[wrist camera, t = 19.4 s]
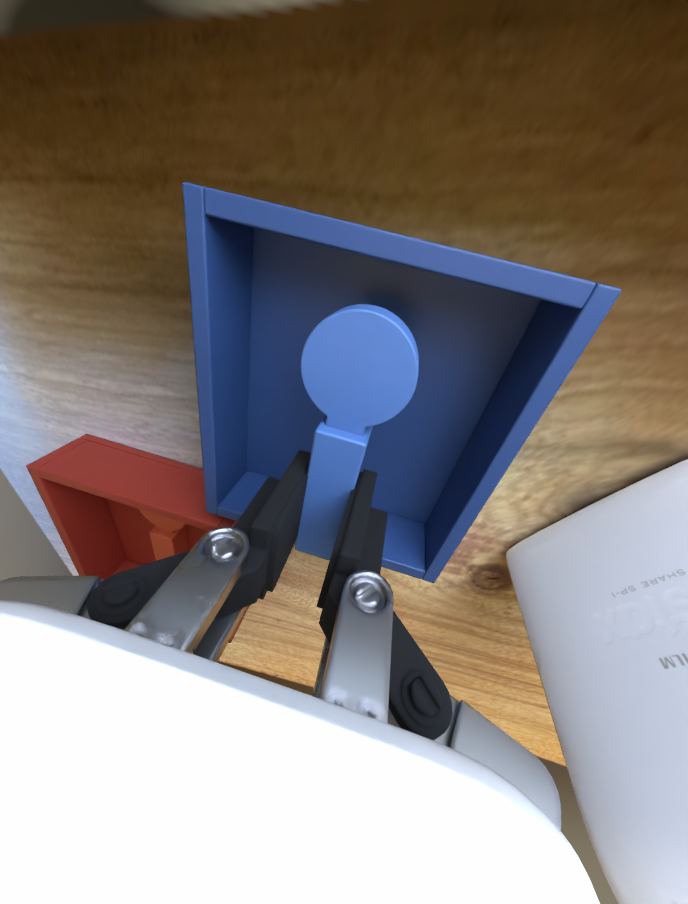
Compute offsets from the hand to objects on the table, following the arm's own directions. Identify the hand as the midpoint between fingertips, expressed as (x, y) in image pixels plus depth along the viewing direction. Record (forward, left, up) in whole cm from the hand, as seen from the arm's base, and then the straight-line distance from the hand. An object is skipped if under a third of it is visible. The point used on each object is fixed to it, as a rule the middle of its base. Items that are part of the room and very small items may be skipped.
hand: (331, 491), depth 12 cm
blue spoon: (0, +2, 0) cm, 2 cm away
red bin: (-10, -11, -4) cm, 15 cm away
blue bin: (0, +2, -4) cm, 4 cm away
